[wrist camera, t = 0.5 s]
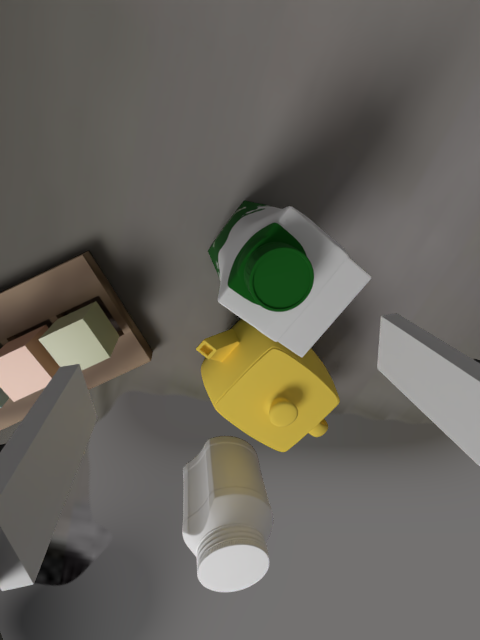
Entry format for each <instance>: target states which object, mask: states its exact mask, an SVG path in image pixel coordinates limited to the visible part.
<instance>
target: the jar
mask: <svg viewBox="0 0 480 640" xmlns="http://www.w3.org/2000/svg"><path fill="white" fill-rule="evenodd" d="M183 479H184V498H183V503H184V504H183V526H182V528H183V529H182V532H183V538H184V541H185V543H186V545H187V546H188V547H189V549H190V550H191V551H192V552H193V554H194V555H195V556H196V557H197V575H198V579H199V581H200V583H201V584H202V585H203V586H205V587H206V588H208V589H210V590H213V591H217V592H233V591H238V590H242V589H245V588H247V587H250V586H252V585H253V584H255V583H256V582H258V581H259V580H260V579H261V578H262V577H263V576H264V575H265V574H266V572H267V570H268V568H269V556H268V550H267V546H266V543H267V541H268V539H269V537H270V534H271V530H272V527H273V513H272V510H271V506H270V504H269V501H268V497H267V493H266V490H265V486H264V482H263V478H262V474H261V470H260V467H259V461H258V457H257V453H256V451H255V450H254V448H253V447H252V446H251V445H250V444H249V443H248V442H246V441H244V440H242V439H240V438H237V437H232V436H219V437H214V438H210V439H209V440H208V441H207V442H206V443H205V445H204V447H203V449H202V450H201V452H200V453H199V454H198V455H197V456H196V457H195V458H194V459H193V460H191V461H190V462H188V463H187V464H186V465H185V466H184V467H183Z"/></svg>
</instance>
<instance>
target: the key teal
mask: <svg viewBox="0 0 480 640" xmlns="http://www.w3.org/2000/svg"><path fill="white" fill-rule="evenodd" d="M9 398H10V397H9V396H8V395H7V394H6V393H5V392H4V391H3V390H2V389H1V388H0V408H1V407H2V406H3V405H4V404H5V403H6V401H7V400H8V399H9Z"/></svg>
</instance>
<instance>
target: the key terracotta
mask: <svg viewBox="0 0 480 640" xmlns="http://www.w3.org/2000/svg"><path fill="white" fill-rule="evenodd" d="M48 329H49V328H48V327H47V326H46V325H44V326H42V327H40V328H38V329H36V330H33V331H31V332H29V333H27V334H25V335H23V336H21V337H18V338H16V339H14V340H12V341H10V342H8V343H6V344H5V345H4V346H3V347H2V348H1V349H0V388H1V389H2V390H3V391H4V392H5V393H6V394H7V395H8V396H9V397H10V398H11V400H12V401H13V402H15V401H17V400H19V399H21V398H24V397H26V396H28V395H30V394H32V393H34V392H36V391H39V390H41V389H43V388H45V387H46V386H47V385H48V383H49V382H50V380H51V379H52V378H53V376H54V375H55V373H56V372H57V370H58V369H59V368H60V366H59V365H58V363H57V362H56V361H55V360H54V358H53V357H52V356H51V355H50V353H49V352H48V351H47V350H46V348H45V347H44V346H43V345H42V343H41V342H40V341H39V340H38V339H39V338H40V337H41V336H42V335H43V334H44V333H45V332H46V331H47V330H48Z"/></svg>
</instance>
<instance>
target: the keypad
mask: <svg viewBox="0 0 480 640" xmlns="http://www.w3.org/2000/svg"><path fill="white" fill-rule="evenodd" d="M95 301H96V302H97V303H98V305H99V306H100V308H101V309H102V311H103V312H104V314H105V315H106V316H107V318H108V319H109V321H110V322H111V324H112V325H113V327H114V328H115V330H116V331H117V333H118V334H119V338H118V341H117V343H116V345H115V347H114V350H113V352H112V354H111V357H110V358H108V359H106V360H103V361H101V362H99V363H97V364H95V365H93V366H91V367H88V368H86V369H84V370H82V373H83V376H84V379H85V382H86V385H87V388H88V390H89V389H91V388H93V387H96V386H98V385H100V384H102V383H104V382H106V381H109V380H111V379H113V378H115V377H117V376H119V375H122V374H124V373H126V372H128V371H130V370H132V369H135V368H137V367H139V366H141V365H143V364H145V363H148V362H150V361H151V358H152V353H153V351H152V349H151V348H150V346H149V345H148V343H147V341H146V340H145V338H144V337H143V335H142V334H141V332H140V330H139V329H138V327H137V326H136V324H135V323H134V321H133V319H132V318H131V316H130V315H129V313H128V311H127V310H126V308H125V307H124V305H123V304H122V302H121V300H120V299H119V297H118V296H117V294H116V293H115V291H114V289H113V288H112V286H111V285H110V283H109V281H108V280H107V278H106V277H105V275H104V274H103V272H102V270H101V269H100V267H99V266H98V264H97V262H96V261H95V259H94V258H93V256H92V255H91V253H90V251H87V252H85V253H83V254H81V255H79V256H76V257H74V258H72V259H70V260H68V261H66V262H64V263H62V264H59V265H57V266H55V267H53V268H51V269H49V270H47V271H45V272H42V273H40V274H38V275H36V276H34V277H32V278H30V279H28V280H26V281H23V282H21V283H19V284H17V285H15V286H13V287H11V288H9V289H6V290H4V291H2V292H0V349H1V348H2V347H3V346H4V345H5V344H6V343H8V342H10V341H12V340H14V339H16V338H18V337H21V336H23V335H25V334H27V333H29V332H31V331H33V330H36V329H38V328H40V327H42V326H44V325H46V326H47V327H48V328H50V327H51V326H52V324H53V323H54V322H55V321H56V320H57V319H59V318H61V317H63V316H65V315H68V314H70V313H72V312H74V311H76V310H78V309H80V308H83V307H85V306H87V305H89V304H91V303H93V302H95ZM45 388H46V387H45ZM45 388H43V389H41V390H39V391H36V392H34V393H32V394H30V395H28V396H26V397H24V398H21V399H19V400H17V401H15V402H13V401H12V400H11V398H9V399H8V400H7V401H6V403H5V404H4V405H3V406H2V407H1V408H0V430H2V429H4V428H7V427H9V426H11V425H13V424H15V423H17V422H20V421H22V420H23V419H24V418H25V416H26V415H27V413H28V412H29V410H30V409H31V408H32V406H33V405H34V403H35V402H36V400H37V399H38V398H39V396H40V395H41V393H42V392H43V390H44V389H45Z"/></svg>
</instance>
